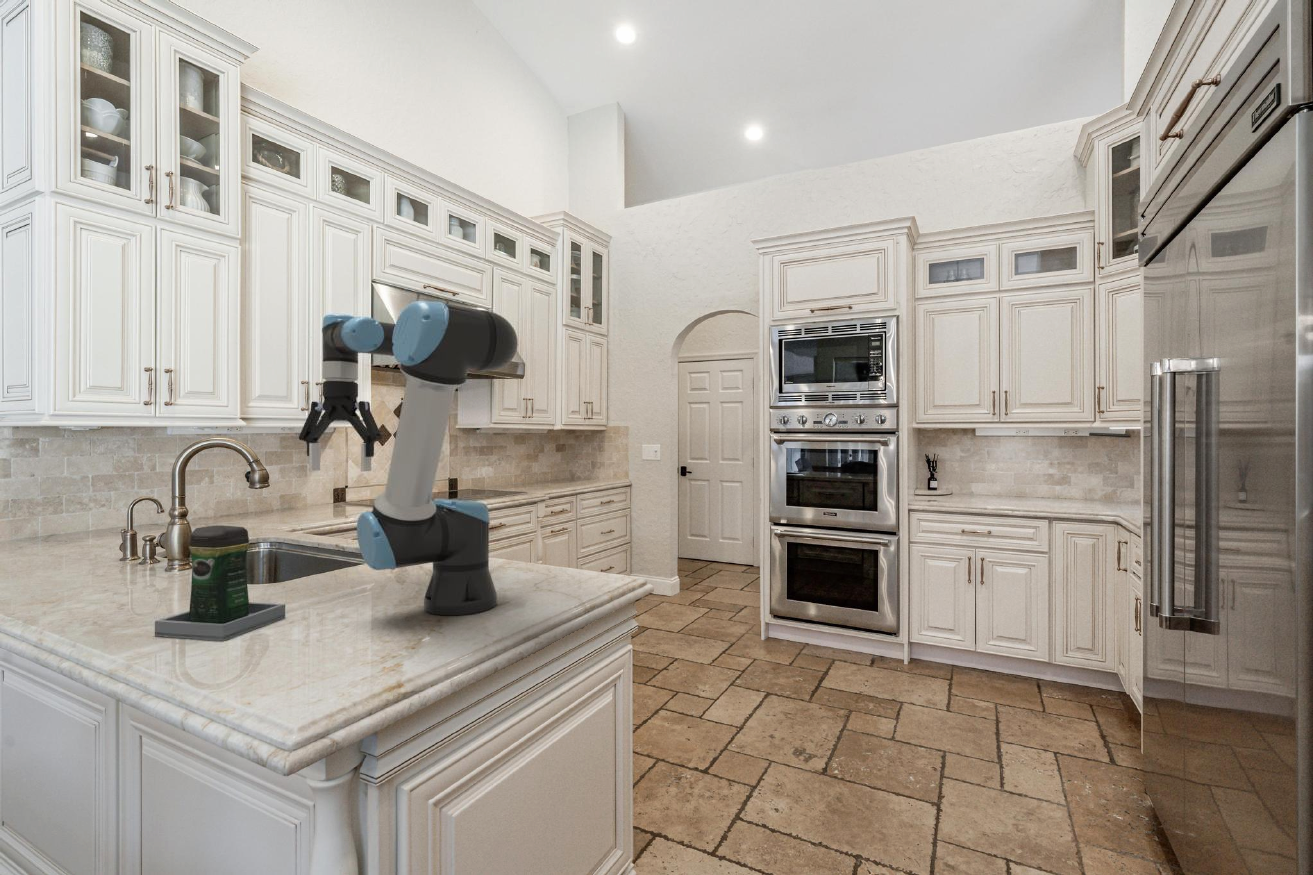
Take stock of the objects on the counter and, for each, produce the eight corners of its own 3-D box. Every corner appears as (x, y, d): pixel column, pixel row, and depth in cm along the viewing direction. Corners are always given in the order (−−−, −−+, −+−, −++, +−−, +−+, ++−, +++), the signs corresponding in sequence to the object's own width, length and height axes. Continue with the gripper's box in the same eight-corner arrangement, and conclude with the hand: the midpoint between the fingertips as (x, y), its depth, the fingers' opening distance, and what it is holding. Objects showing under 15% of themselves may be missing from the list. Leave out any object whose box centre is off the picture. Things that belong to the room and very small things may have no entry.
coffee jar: (257, 616, 124) (257, 523, 124) (219, 628, 116) (220, 529, 116) (219, 613, 126) (219, 522, 126) (180, 624, 119) (180, 527, 119)
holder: (285, 617, 126) (285, 604, 126) (223, 641, 111) (223, 625, 111) (223, 614, 128) (223, 600, 128) (154, 636, 114) (154, 621, 114)
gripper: (397, 381, 148) (397, 470, 148) (305, 383, 153) (305, 469, 153) (378, 379, 141) (378, 472, 141) (281, 380, 145) (281, 471, 145)
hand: (340, 471), depth 147 cm, fingers open, 13 cm apart
